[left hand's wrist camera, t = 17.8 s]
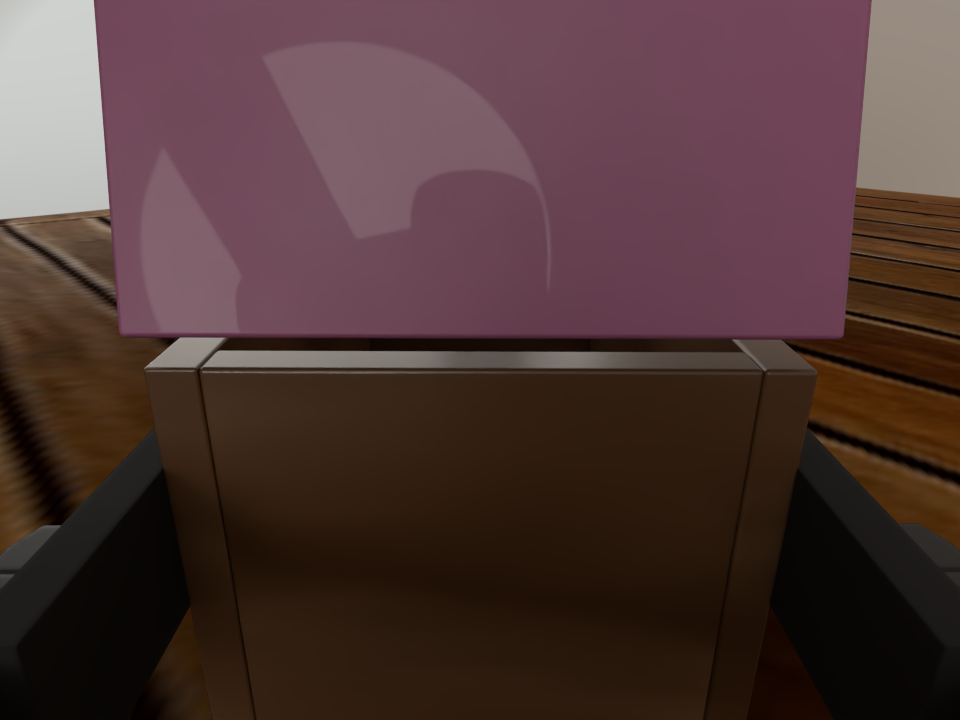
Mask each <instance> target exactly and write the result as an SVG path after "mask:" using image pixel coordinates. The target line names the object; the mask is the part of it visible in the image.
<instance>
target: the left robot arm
mask: <svg viewBox="0 0 960 720" xmlns="http://www.w3.org/2000/svg"><path fill="white" fill-rule="evenodd" d="M190 605H191V604H190V599H189V594H188V589H187V584H186V579H185V574H184V569H183V564H182V559H181V554H180V549H179V544H178V539H177V534H176V529H175V524H174V519H173V514H172V509H171V504H170V499H169V494H168V489H167V484H166V479H165V474H164V469H163V466H162V461H161V456H160V451H159V446H158V441H157V436H156V430H155V428H154V429H153V430H152V431H151V432H150V433H149V434H148V435H147V436H146V437H145V438H144V439H143V440H142V441H141V442H140V443H139V444H138V445H137V447H136V448H135V449H134V450H133V451H132V452H131V453H130V454H129V455H128V456H127V457H126V458H125V459H124V460H123V461H122V462H121V463H120V464H119V465H118V466H117V468H116V469H115V470H114V471H113V472H112V473H111V474H110V475H109V476H108V477H107V478H106V479H105V480H104V481H103V482H102V483H101V484H100V485H99V486H98V487H97V488H96V490H95V491H94V492H93V493H92V494H91V495H90V496H89V497H88V498H87V499H86V500H85V501H84V502H83V503H82V504H81V505H80V506H79V507H78V508H77V509H76V511H75V512H74V513H73V514H72V515H71V516H70V517H69V518H68V519H67V520H66V521H65V522H64V523H63V524H62V525H61V526H42V527H40V528H39V529H37V530H35V531H34V532H32V533H30V534H29V535H27V536H25V537H24V538H22V539H20V540H19V541H17V542H15V543H14V544H12V545H10V546H9V547H8V548H7V549H6V550H5V551H4V552H3V553H2V554H1V555H0V720H127V718H128V716H129V714H130V713H131V711H132V709H133V707H134V705H135V704H136V702H137V700H138V698H139V696H140V695H141V693H142V691H143V689H144V687H145V686H146V684H147V682H148V680H149V679H150V677H151V675H152V673H153V671H154V670H155V668H156V666H157V664H158V662H159V661H160V659H161V657H162V655H163V653H164V652H165V650H166V648H167V646H168V644H169V643H170V641H171V639H172V637H173V635H174V634H175V632H176V630H177V628H178V627H179V625H180V623H181V621H182V619H183V618H184V616H185V614H186V612H187V610H188V609H189V607H190ZM770 605H771V607H772V609H773V611H774V613H775V614H776V616H777V618H778V620H779V621H780V623H781V625H782V627H783V629H784V630H785V632H786V634H787V636H788V638H789V639H790V641H791V643H792V645H793V647H794V648H795V650H796V652H797V654H798V656H799V657H800V659H801V661H802V663H803V665H804V666H805V668H806V670H807V672H808V673H809V675H810V677H811V679H812V681H813V682H814V684H815V686H816V688H817V690H818V691H819V693H820V695H821V697H822V699H823V700H824V702H825V704H826V706H827V708H828V709H829V711H830V713H831V715H832V717H833V718H834V720H960V551H959V550H958V549H957V548H956V547H955V546H954V545H953V544H952V543H950V542H948V541H947V540H945V539H943V538H941V537H940V536H938V535H936V534H935V533H933V532H931V531H930V530H928V529H926V528H925V527H923V526H921V525H920V524H918V523H897V522H896V521H895V520H894V519H893V518H892V517H891V516H890V515H889V514H888V513H887V512H886V511H885V510H884V509H883V508H882V506H881V505H880V504H879V503H878V502H877V501H876V500H875V499H874V498H873V497H872V496H871V495H870V494H869V493H868V492H867V491H866V490H865V489H864V488H863V487H862V485H861V484H860V483H859V482H858V481H857V480H856V479H855V478H854V477H853V476H852V475H851V474H850V473H849V472H848V471H847V470H846V469H845V468H844V467H843V466H842V464H841V463H840V462H839V461H838V460H837V459H836V458H835V457H834V456H833V455H832V454H831V453H830V452H829V451H828V450H827V449H826V448H825V447H824V446H823V445H822V444H821V442H820V441H819V440H818V439H817V438H816V437H815V436H814V435H813V434H812V433H811V432H810V431H809V430H808V429H807V428H806V433H805V438H804V443H803V448H802V452H801V457H800V462H799V467H798V469H797V474H796V479H795V484H794V489H793V494H792V498H791V503H790V508H789V513H788V518H787V523H786V528H785V533H784V538H783V543H782V548H781V553H780V558H779V563H778V568H777V573H776V577H775V582H774V587H773V592H772V597H771V602H770Z"/></svg>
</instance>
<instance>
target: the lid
mask: <svg viewBox="0 0 960 720" xmlns="http://www.w3.org/2000/svg"><path fill="white" fill-rule="evenodd" d="M871 1H872V0H94V8H95V21H96V33H97V47H98V60H99V73H100V87H101V99H102V113H103V126H104V139H105V152H106V165H107V179H108V192H109V205H110V218H111V231H112V244H113V257H114V271H115V284H116V297H117V310H118V323H119V333H120V335H121V336H124V337H155V338H440V339H725V340H838V339H840V338H842V337H843V334H844V323H845V311H846V299H847V287H848V275H849V263H850V251H851V240H852V228H853V216H854V204H855V192H856V180H857V168H858V156H859V144H860V132H861V120H862V108H863V96H864V85H865V72H866V61H867V48H868V37H869V25H870V13H871Z"/></svg>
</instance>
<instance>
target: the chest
mask: <svg viewBox="0 0 960 720" xmlns="http://www.w3.org/2000/svg"><path fill="white" fill-rule="evenodd" d="M144 375H145V380H146V385H147V390H148V395H149V400H150V405H151V410H152V415H153V420H154V425H155V430H156V436H157V441H158V446H159V451H160V456H161V461H162V466H163V469H164V474H165V479H166V484H167V489H168V494H169V499H170V504H171V509H172V514H173V519H174V524H175V529H176V534H177V539H178V544H179V549H180V554H181V559H182V564H183V569H184V574H185V579H186V584H187V589H188V594H189V599H190V604H191V605H190V608H191V613H192V618H193V623H194V628H195V633H196V638H197V643H198V649H199V654H200V659H201V664H202V669H203V674H204V679H205V684H206V689H207V694H208V699H209V704H210V709H211V714H212V720H746V719H747V715H748V710H749V705H750V700H751V695H752V690H753V685H754V681H755V676H756V671H757V666H758V661H759V656H760V651H761V647H762V642H763V637H764V632H765V627H766V622H767V617H768V613H769V608H770V602H771V597H772V592H773V587H774V582H775V577H776V573H777V568H778V563H779V558H780V553H781V548H782V543H783V538H784V533H785V528H786V523H787V518H788V513H789V508H790V503H791V498H792V494H793V489H794V484H795V479H796V474H797V469H798V467H799V462H800V457H801V452H802V448H803V443H804V438H805V433H806V428H807V423H808V418H809V414H810V409H811V404H812V399H813V394H814V389H815V384H816V380H817V371H816V369H814V368H813V367H812V366H811V365H810V364H809V363H807V362H806V361H805V360H804V359H803V358H802V357H800V356H799V355H798V354H797V353H796V352H795V351H793V350H792V349H791V348H790V347H789V346H788V345H786V344H785V343H784V342H783V341H782V340H725V339H440V338H179V339H178V340H177V341H176V342H175V343H173V344H172V345H171V346H170V347H169V348H168V349H166V350H165V351H164V352H163V353H162V354H161V355H159V356H158V357H157V358H156V359H155V360H154V361H152V362H151V363H150V364H149V365H148V366H146V367H145V369H144Z"/></svg>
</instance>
